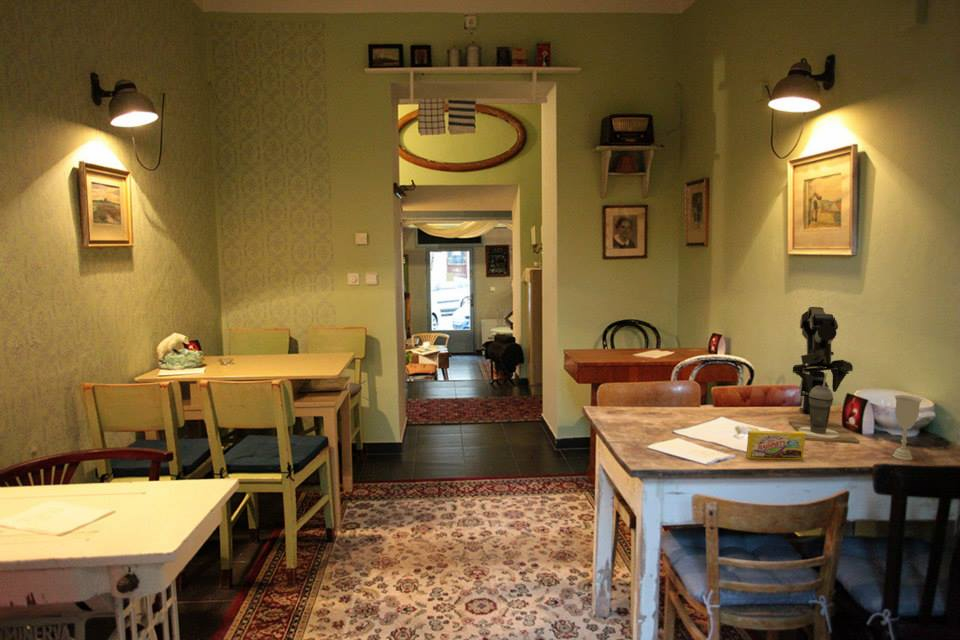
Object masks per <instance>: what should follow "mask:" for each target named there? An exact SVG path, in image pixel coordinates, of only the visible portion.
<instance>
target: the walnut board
mask: <svg viewBox="0 0 960 640" xmlns="http://www.w3.org/2000/svg"><path fill="white" fill-rule="evenodd" d="M788 424H789V425H790V426H791V427H792V428H793V429H794V431H803V432H804V433H805V441H813V442H814V441H816V442H829V443H831V442H832V443H845V444H847V443H848V444H860V440H859V439H858V438H857V437H855V436H854V434H852V433H851V432H849V431H848V430H847V429H846V428H844V427H843V426H842V425H841V424H840V423H838V422H837V423H832V422H828V425H827V429H826V433H825V434H818V433H813V432H811V431H810V421H803V420H802V421H801V420H788Z"/></svg>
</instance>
